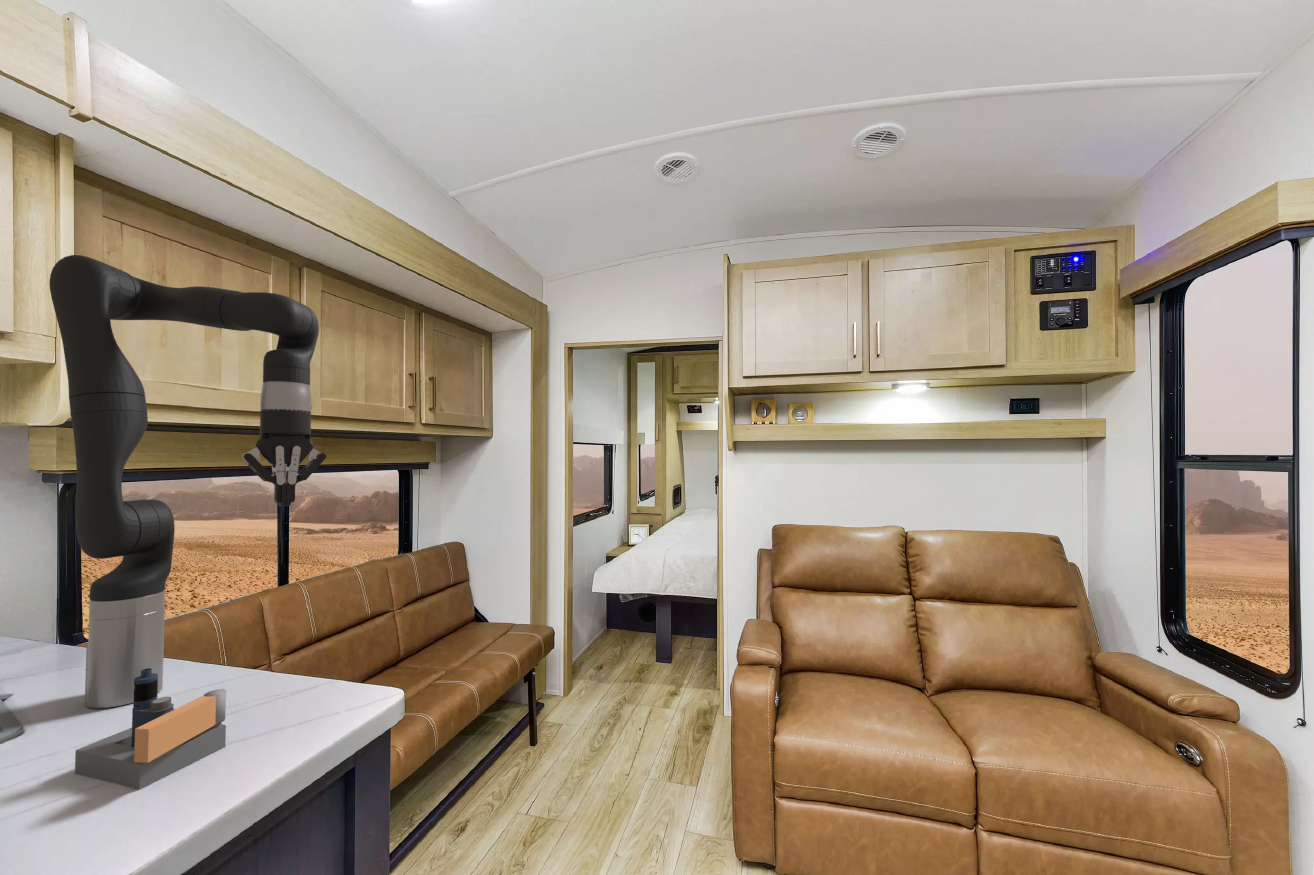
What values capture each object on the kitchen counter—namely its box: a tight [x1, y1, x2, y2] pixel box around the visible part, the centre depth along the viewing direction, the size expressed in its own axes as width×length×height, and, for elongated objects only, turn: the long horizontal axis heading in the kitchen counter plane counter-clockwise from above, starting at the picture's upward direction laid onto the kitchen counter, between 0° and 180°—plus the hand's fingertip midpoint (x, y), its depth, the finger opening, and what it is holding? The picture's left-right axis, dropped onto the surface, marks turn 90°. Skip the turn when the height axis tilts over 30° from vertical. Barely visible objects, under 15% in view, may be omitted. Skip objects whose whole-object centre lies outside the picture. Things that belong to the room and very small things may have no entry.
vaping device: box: [131, 668, 176, 747], centre depth 72 cm, size 3×5×12 cm, turn 80°
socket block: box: [74, 722, 227, 790], centre depth 72 cm, size 12×10×3 cm
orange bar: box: [134, 688, 227, 763], centre depth 71 cm, size 11×2×4 cm, turn 176°
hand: (284, 505), depth 95 cm, fingers closed
